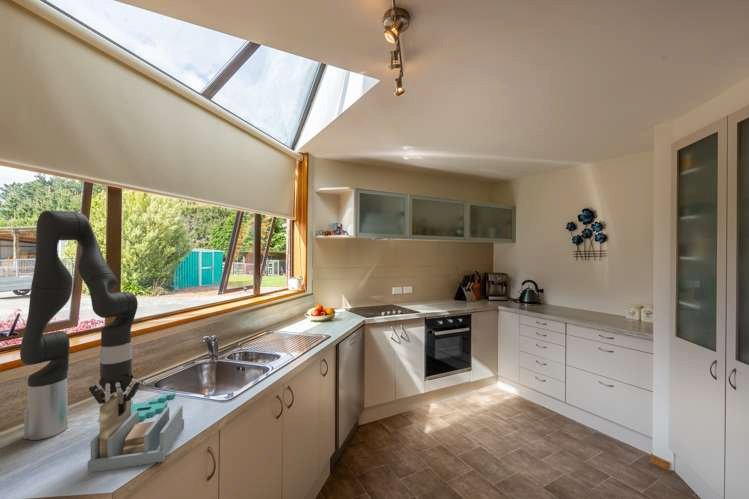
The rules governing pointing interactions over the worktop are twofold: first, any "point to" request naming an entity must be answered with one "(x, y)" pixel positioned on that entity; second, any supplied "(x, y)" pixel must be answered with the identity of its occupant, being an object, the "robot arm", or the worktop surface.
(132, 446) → the offcut stack
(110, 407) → the light wooden flat slab
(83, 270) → the robot arm
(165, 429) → the rack
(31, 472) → the worktop surface
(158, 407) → the alien figure
